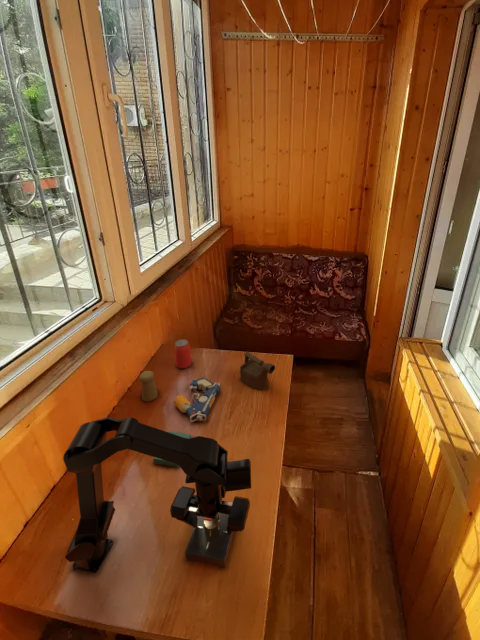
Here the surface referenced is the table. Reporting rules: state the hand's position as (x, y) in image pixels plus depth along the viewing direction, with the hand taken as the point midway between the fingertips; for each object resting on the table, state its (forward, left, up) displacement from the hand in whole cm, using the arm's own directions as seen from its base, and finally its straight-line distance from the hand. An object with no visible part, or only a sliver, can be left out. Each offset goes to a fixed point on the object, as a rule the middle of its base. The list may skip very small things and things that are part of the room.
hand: (212, 529), depth 80 cm
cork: (+42, +43, -4) cm, 60 cm away
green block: (+21, +22, -3) cm, 31 cm away
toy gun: (+42, +23, -4) cm, 48 cm away
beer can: (+62, +38, -4) cm, 73 cm away
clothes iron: (+56, +2, -4) cm, 56 cm away
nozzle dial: (0, 0, 0) cm, 0 cm away
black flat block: (0, 0, -3) cm, 3 cm away
